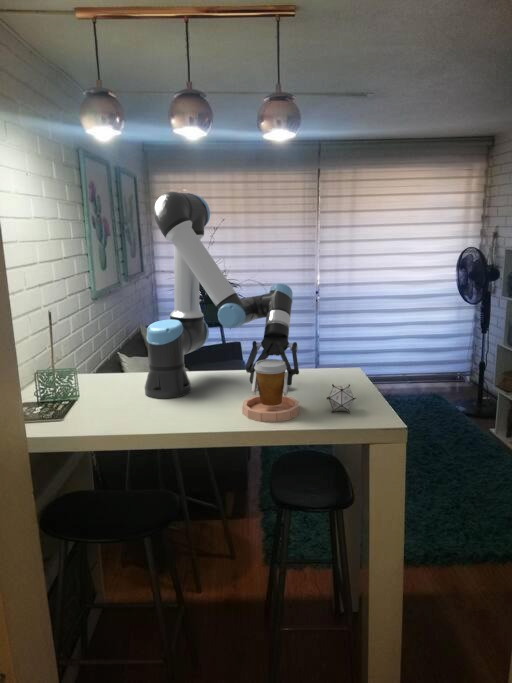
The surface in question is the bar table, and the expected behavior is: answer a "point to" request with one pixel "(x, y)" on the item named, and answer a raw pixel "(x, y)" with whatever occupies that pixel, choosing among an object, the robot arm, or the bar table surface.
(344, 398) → the game die
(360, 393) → the bar table surface
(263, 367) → the disposable coffee cup
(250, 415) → the terracotta bowl
